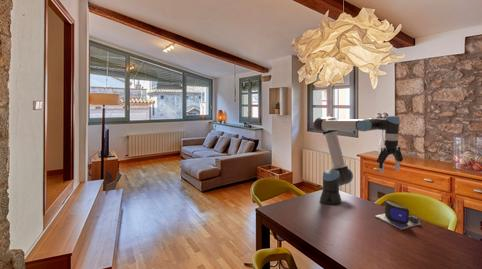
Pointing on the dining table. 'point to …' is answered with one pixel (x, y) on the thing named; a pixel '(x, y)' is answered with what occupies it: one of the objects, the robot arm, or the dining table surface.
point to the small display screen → (396, 212)
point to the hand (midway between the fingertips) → (389, 171)
